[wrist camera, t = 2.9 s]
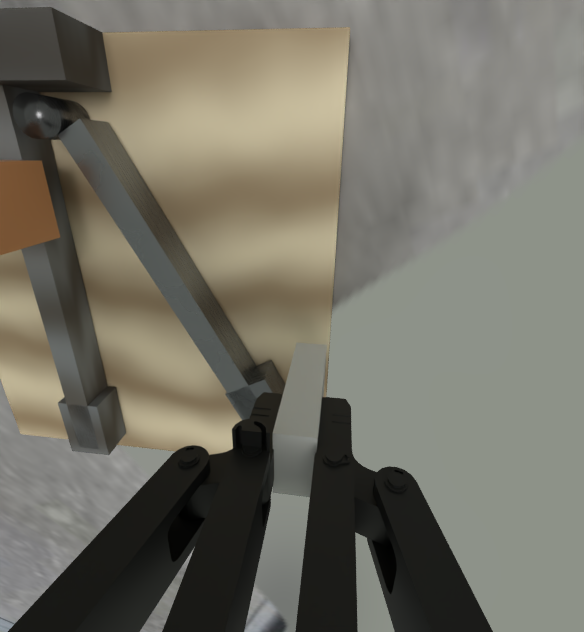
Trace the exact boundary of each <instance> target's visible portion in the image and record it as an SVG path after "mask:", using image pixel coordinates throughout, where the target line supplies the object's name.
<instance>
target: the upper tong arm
mask: <svg viewBox="0 0 584 632" xmlns="http://www.w3.org/2000/svg"><path fill="white" fill-rule="evenodd" d="M13 116H14V119H15V121H16V123H17V125H18V127H19V128H20V129H21V131H22V132H23V133H25V134H26V135H27V136H29V137H31V138H34V139H47V140H61V141H62V143H63V144H64V146H65V147H66V149H67V150H68V152H69V153H70V155H71V156H72V158H73V159H74V161H75V162H76V164H77V166H78V167H79V169H80V170H81V172H82V173H83V175H84V176H85V178H86V179H87V181H88V182H89V184H90V185H91V187H92V188H93V190H94V191H95V193H96V194H97V196H98V197H99V199H100V200H101V202H102V203H103V205H104V206H105V208H106V210H107V211H108V213H109V214H110V216H111V217H112V219H113V220H114V222H115V223H116V225H117V226H118V228H119V229H120V231H121V232H122V234H123V235H124V237H125V238H126V240H127V241H128V243H129V244H130V246H131V247H132V249H133V251H134V252H135V254H136V255H137V257H138V258H139V260H140V261H141V263H142V264H143V266H144V267H145V269H146V270H147V272H148V273H149V275H150V276H151V278H152V279H153V281H154V282H155V284H156V285H157V287H158V288H159V290H160V291H161V293H162V295H163V296H164V298H165V299H166V301H167V302H168V304H169V305H170V307H171V308H172V310H173V311H174V313H175V314H176V316H177V317H178V319H179V320H180V322H181V323H182V325H183V326H184V328H185V329H186V331H187V332H188V334H189V336H190V337H191V339H192V340H193V342H194V343H195V345H196V346H197V348H198V349H199V351H200V352H201V354H202V355H203V357H204V358H205V360H206V361H207V363H208V364H209V366H210V367H211V369H212V370H213V372H214V373H215V375H216V376H217V378H218V380H219V381H220V383H221V384H222V386H223V387H224V389H225V390H226V393H225V395H226V396H227V398H228V399H229V401H230V403H231V404H232V406H233V407H234V409H235V410H236V412H237V413H238V415H239V416H240V418H241V419H242V420H245V419H249V417H250V415H251V412H252V409H253V407H254V404H255V401H256V399H257V398H258V397H259V396H260V395H261V394H262V393H263V392H267V393H278V394H283V392H284V388H285V382H284V381H283V379H282V377H281V375H280V374H279V372H278V370H277V369H276V367H275V365H274V364H273V362H272V360H270V361H268V362H265V363H262V364H260V365H257V366H256V364H255V362H254V361H253V359H252V357H251V356H250V354H249V353H248V351H247V349H246V348H245V346H244V344H243V343H242V341H241V339H240V338H239V336H238V334H237V333H236V331H235V330H234V328H233V326H232V325H231V323H230V321H229V320H228V318H227V316H226V315H225V313H224V311H223V310H222V308H221V307H220V305H219V303H218V302H217V300H216V298H215V297H214V295H213V293H212V292H211V290H210V288H209V287H208V285H207V283H206V282H205V280H204V279H203V277H202V275H201V274H200V272H199V270H198V269H197V267H196V265H195V264H194V262H193V260H192V259H191V257H190V256H189V254H188V252H187V251H186V249H185V247H184V246H183V244H182V242H181V241H180V239H179V237H178V236H177V234H176V233H175V231H174V229H173V228H172V226H171V224H170V223H169V221H168V219H167V218H166V216H165V214H164V213H163V211H162V210H161V208H160V206H159V205H158V203H157V201H156V200H155V198H154V196H153V195H152V193H151V191H150V190H149V188H148V186H147V185H146V183H145V182H144V180H143V178H142V177H141V175H140V173H139V172H138V170H137V168H136V167H135V165H134V163H133V162H132V160H131V159H130V157H129V155H128V154H127V152H126V150H125V149H124V147H123V145H122V144H121V142H120V140H119V139H118V137H117V136H116V134H115V132H114V131H113V129H112V127H111V126H110V124H109V122H104V121H96V120H90V118H89V115H88V113H87V111H86V110H85V109H84V107H83V106H82V105H80V104H79V103H77V102H75V101H71V100H66V99H61V98H56V97H51V96H45V95H40V94H35V93H30V92H24V93H21V94H19V95H18V96H17V97H16V98H15V100H14V102H13Z"/></svg>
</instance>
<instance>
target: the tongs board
mask: <svg viewBox="0 0 584 632" xmlns="http://www.w3.org/2000/svg"><path fill="white" fill-rule="evenodd" d="M349 38H350V27H344V28H297V29H251V30H204V31H157V32H110V33H102V32H100V31H98V30H96V29H94V28H92V27H90V26H88V25H86V24H84V23H82V22H80V21H78V20H76V19H74V18H72V17H70V16H68V15H66V14H64V13H62V12H60V11H58V10H56V9H54V8H52V7H37V8H4V9H0V160H37V161H42V164H43V168H44V172H45V176H46V181H47V185H48V189H49V193H50V197H51V201H52V205H53V209H54V213H55V217H56V221H57V225H58V229H59V233H60V238H57V239H53V240H50V241H47V242H43V243H40V244H37V245H33V246H30V247H27V248H23V249H20V250H16V251H13V252H10V253H6V254H3V255H0V379H1V382H2V385H3V387H4V390H5V393H6V395H7V398H8V401H9V403H10V406H11V409H12V412H13V414H14V417H15V420H16V422H17V425H18V428H19V430H20V433H21V434H25V435H34V436H43V437H52V438H61V439H69V442H70V445H71V448H72V451H78V452H86V453H95V454H104V455H109V454H110V453H111V452H112V451H113V449H114V448H115V447H116V445H124V446H133V447H142V448H151V449H160V450H168V451H177V450H179V449H181V448H183V447H185V446H191V445H196V446H201V447H203V448H205V449H206V450H207V452H208V453H209V455H211V454H218V453H223V452H227V451H229V450H231V449H233V441H232V428H233V427H234V425H235V424H237V423H238V422H240V421H242V419H241V418H240V416H239V415H238V413H237V412H236V410H235V409H234V407H233V406H232V404H231V403H230V401H229V399H228V398H227V396H226V395H225V393H226V390H225V389H224V387H223V386H222V384H221V383H220V381H219V380H218V378H217V376H216V375H215V373H214V372H213V370H212V369H211V367H210V366H209V364H208V363H207V361H206V360H205V358H204V357H203V355H202V354H201V352H200V351H199V349H198V348H197V346H196V345H195V343H194V342H193V340H192V339H191V337H190V336H189V334H188V332H187V331H186V329H185V328H184V326H183V325H182V323H181V322H180V320H179V319H178V317H177V316H176V314H175V313H174V311H173V310H172V308H171V307H170V305H169V304H168V302H167V301H166V299H165V298H164V296H163V295H162V293H161V291H160V290H159V288H158V287H157V285H156V284H155V282H154V281H153V279H152V278H151V276H150V275H149V273H148V272H147V270H146V269H145V267H144V266H143V264H142V263H141V261H140V260H139V258H138V257H137V255H136V254H135V252H134V251H133V249H132V247H131V246H130V244H129V243H128V241H127V240H126V238H125V237H124V235H123V234H122V232H121V231H120V229H119V228H118V226H117V225H116V223H115V222H114V220H113V219H112V217H111V216H110V214H109V213H108V211H107V210H106V208H105V206H104V205H103V203H102V202H101V200H100V199H99V197H98V196H97V194H96V193H95V191H94V190H93V188H92V187H91V185H90V184H89V182H88V181H87V179H86V178H85V176H84V175H83V173H82V172H81V170H80V169H79V167H78V166H77V164H76V162H75V161H74V159H73V158H72V156H71V155H70V153H69V152H68V150H67V149H66V147H65V146H64V144H63V143H62V141H61V140H47V139H34V138H31V137H29V136H27V135H26V134H25V133H23V132H22V131H21V129H20V128H19V127H18V125H17V123H16V121H15V119H14V116H13V102H14V100H15V98H16V97H17V96H18V95H19V94H21V93H24V92H30V93H35V94H40V95H45V96H51V97H56V98H61V99H66V100H71V101H75V102H77V103H79V104H80V105H82V106H83V107H84V109H85V110H86V111H87V113H88V115H89V118H90V120H96V121H104V122H109V124H110V126H111V127H112V129H113V131H114V132H115V134H116V136H117V137H118V139H119V140H120V142H121V144H122V145H123V147H124V149H125V150H126V152H127V154H128V155H129V157H130V159H131V160H132V162H133V163H134V165H135V167H136V168H137V170H138V172H139V173H140V175H141V177H142V178H143V180H144V182H145V183H146V185H147V186H148V188H149V190H150V191H151V193H152V195H153V196H154V198H155V200H156V201H157V203H158V205H159V206H160V208H161V210H162V211H163V213H164V214H165V216H166V218H167V219H168V221H169V223H170V224H171V226H172V228H173V229H174V231H175V233H176V234H177V236H178V237H179V239H180V241H181V242H182V244H183V246H184V247H185V249H186V251H187V252H188V254H189V256H190V257H191V259H192V260H193V262H194V264H195V265H196V267H197V269H198V270H199V272H200V274H201V275H202V277H203V279H204V280H205V282H206V283H207V285H208V287H209V288H210V290H211V292H212V293H213V295H214V297H215V298H216V300H217V302H218V303H219V305H220V307H221V308H222V310H223V311H224V313H225V315H226V316H227V318H228V320H229V321H230V323H231V325H232V326H233V328H234V330H235V331H236V333H237V334H238V336H239V338H240V339H241V341H242V343H243V344H244V346H245V348H246V349H247V351H248V353H249V354H250V356H251V357H252V359H253V361H254V362H255V364H256V366H257V365H260V364H262V363H265V362H268V361H270V360H272V362H273V364H274V365H275V367H276V369H277V370H278V372H279V374H280V375H281V377H282V379H283V381H284V382H285V384H286V381H287V377H288V373H289V369H290V366H291V362H292V358H293V354H294V350H295V347H296V343H309V344H322V345H327V350H326V366H325V382H324V396H323V397H326V392H327V376H328V361H329V346H330V330H331V315H332V300H333V284H334V269H335V254H336V238H337V223H338V207H339V192H340V177H341V161H342V146H343V130H344V115H345V100H346V84H347V69H348V53H349Z"/></svg>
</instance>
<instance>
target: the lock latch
mask: <svg viewBox="0 0 584 632" xmlns="http://www.w3.org/2000/svg"><path fill="white" fill-rule="evenodd" d="M57 238H60V233H59V229H58V225H57V221H56V217H55V213H54V209H53V205H52V201H51V197H50V193H49V189H48V185H47V181H46V176H45V172H44V168H43V164H42V161H37V160H0V255H3V254H6V253H10V252H13V251H16V250H20V249H23V248H27V247H30V246H33V245H37V244H40V243H43V242H47V241H50V240H53V239H57Z"/></svg>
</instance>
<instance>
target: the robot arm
mask: <svg viewBox="0 0 584 632" xmlns="http://www.w3.org/2000/svg"><path fill="white" fill-rule="evenodd" d="M326 350H327V345H322V344H309V343H296V347H295V350H294V354H293V358H292V362H291V366H290V369H289V373H288V377H287V381H286V384H285V388H284V392H283V394H278V393H267V392H263V393H262V394H261V395H260V396H259V397H258V398H257V399H256V401H255V404H254V407H253V409H252V412H251V415H250V417H249V419H245V420H242V421H240V422H238V423H237V424H235V425H234V427H233V428H232V441H233V449H231V450H229V451H227V452H223V453H218V454H211V455H209V453H208V452H207V450H206V449H205V448H203V447H201V446H196V445H191V446H185V447H183V448H181V449H179V450H177V451H176V452H175V453H173V454H172V455H171V457H170V458H169V459H168V460H167V461H166V462H165V463H164V464H163V465H162V466H161V467H160V469H158V471H157V472H156V473H155V474H154V475H153V476H152V477H151V478H150V479H149V480H148V481H147V482H146V483H145V485H144V486H143V487H142V488H141V489H140V490H139V491H138V492H137V493H136V494H135V495H134V496H133V497H132V499H131V500H130V501H129V502H128V503H127V504H126V505H125V506H124V507H123V508H122V509H121V510H120V511H119V513H118V514H117V515H116V516H115V517H114V518H113V519H112V520H111V521H110V522H109V523H108V524H107V525H106V527H105V528H104V529H103V530H102V531H101V532H100V533H99V534H98V535H97V536H96V537H95V538H94V539H93V541H92V542H91V543H90V544H89V545H88V546H87V547H86V548H85V549H84V550H83V551H82V552H81V553H80V555H79V556H78V557H77V558H76V559H75V560H74V561H73V562H72V563H71V564H70V565H69V566H68V567H67V569H66V570H65V571H64V572H63V573H62V574H61V575H60V576H59V577H58V578H57V579H56V580H55V581H54V583H53V584H52V585H51V586H50V587H49V588H48V589H47V590H46V591H45V592H44V593H43V594H42V595H41V597H40V598H39V599H38V600H37V601H36V602H35V603H34V604H33V605H32V606H31V607H30V608H29V609H28V611H27V612H26V613H25V614H24V615H23V616H22V617H21V618H20V619H19V620H18V621H17V622H16V623H15V624H14V626H13V627H12V628H11V629H10V630H9V631H8V632H139V631H140V630H141V628H142V627H143V625H144V624H145V622H146V621H147V619H148V618H149V616H150V614H151V613H152V611H153V610H154V608H155V607H156V605H157V604H158V602H159V601H160V599H161V598H162V596H163V594H164V593H165V591H166V590H167V588H168V587H169V585H170V584H171V582H172V581H173V579H174V578H175V576H176V575H177V573H178V571H179V570H180V568H181V567H182V565H183V564H184V562H185V561H186V559H187V558H188V556H189V555H190V553H191V551H192V550H193V548H194V547H195V548H194V551H193V553H192V556H191V558H190V561H189V564H188V566H187V569H186V571H185V574H184V577H183V579H182V582H181V585H180V587H179V590H178V592H177V595H176V598H175V600H174V603H173V605H172V608H171V611H170V613H169V616H168V618H167V621H166V624H165V626H164V629H163V631H162V632H244V629H245V625H246V620H247V615H248V611H249V606H250V601H251V596H252V592H253V587H254V582H255V577H256V573H257V568H258V563H259V559H260V554H261V549H262V544H263V540H264V535H265V530H266V526H267V521H268V516H269V511H270V506H271V499H270V498H271V491H272V487H273V492H274V493H282V494H289V495H297V496H306V497H310V503H309V512H308V521H307V531H306V539H305V549H304V559H303V568H302V577H301V586H300V595H299V605H298V614H297V624H296V632H357V593H356V550H355V549H356V548H355V532H356V533H358V534H360V535H363V536H365V537H367V541H368V545H369V548H370V551H371V555H372V558H373V561H374V564H375V568H376V571H377V574H378V577H379V581H380V584H381V588H382V591H383V594H384V597H385V601H386V604H387V607H388V610H389V614H390V617H391V621H392V624H393V627H394V630H395V632H493V631H492V629H491V627H490V625H489V623H488V621H487V619H486V617H485V616H484V613H483V612H482V610H481V608H480V606H479V604H478V602H477V600H476V598H475V596H474V594H473V592H472V590H471V588H470V586H469V584H468V582H467V580H466V578H465V576H464V574H463V572H462V570H461V568H460V566H459V565H458V563H457V560H456V558H455V556H454V555H453V553H452V551H451V549H450V547H449V545H448V543H447V541H446V539H445V537H444V535H443V533H442V531H441V529H440V527H439V525H438V523H437V521H436V519H435V517H434V515H433V513H432V511H431V509H430V507H429V505H428V503H427V502H426V500H425V498H424V496H423V494H422V492H421V490H420V488H419V486H418V484H417V482H416V480H415V479H414V478H413V477H412V475H411V474H409V473H408V472H407V471H405V470H403V469H400V468H397V467H385V468H382V469H381V470H379V471H378V472H375V471H372V470H369V469H367V468H365V467H363V466H362V465H361V464H359V463H358V462H357V461H356V460H355V458H354V457H353V454H352V444H351V443H352V441H351V407H350V405H349V404H348V402H347V400H346V399H340V398H329V397H323V396H324V382H325V366H326Z"/></svg>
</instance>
